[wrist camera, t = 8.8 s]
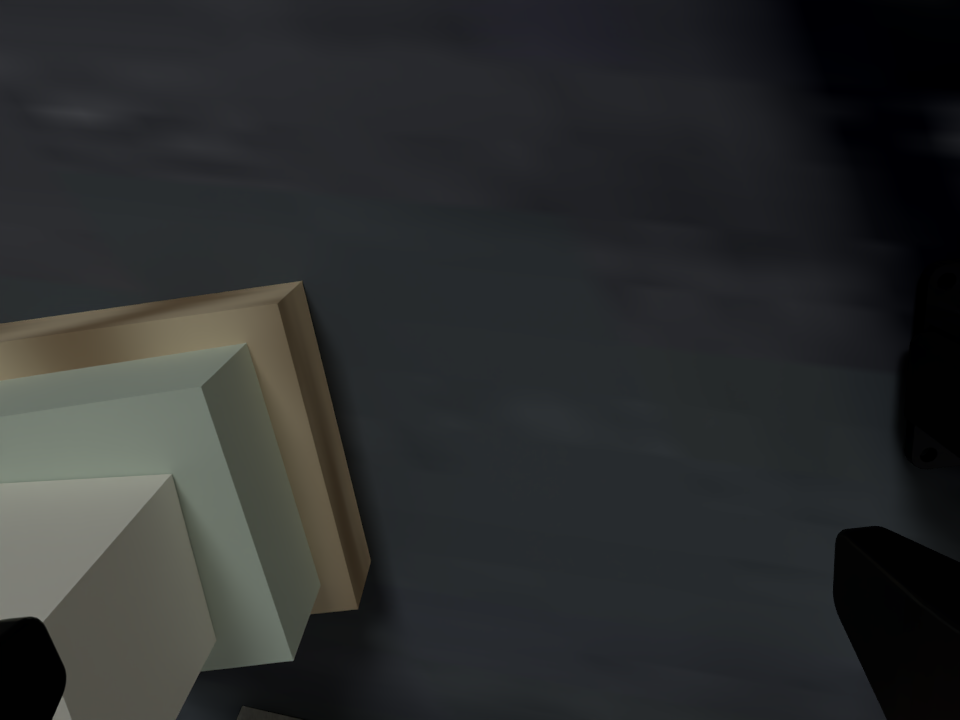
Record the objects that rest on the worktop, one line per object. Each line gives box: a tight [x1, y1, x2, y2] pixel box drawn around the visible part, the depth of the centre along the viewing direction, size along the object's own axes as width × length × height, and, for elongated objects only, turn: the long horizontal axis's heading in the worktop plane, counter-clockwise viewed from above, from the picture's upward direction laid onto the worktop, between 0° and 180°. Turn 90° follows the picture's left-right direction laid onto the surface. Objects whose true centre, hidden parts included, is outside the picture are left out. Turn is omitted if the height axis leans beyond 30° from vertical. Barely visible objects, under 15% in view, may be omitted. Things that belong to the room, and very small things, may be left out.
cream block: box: [0, 474, 216, 720], centre depth 14 cm, size 5×5×5 cm
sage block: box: [0, 343, 321, 672], centre depth 18 cm, size 8×8×3 cm
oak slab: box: [0, 281, 371, 614], centre depth 21 cm, size 10×10×3 cm
